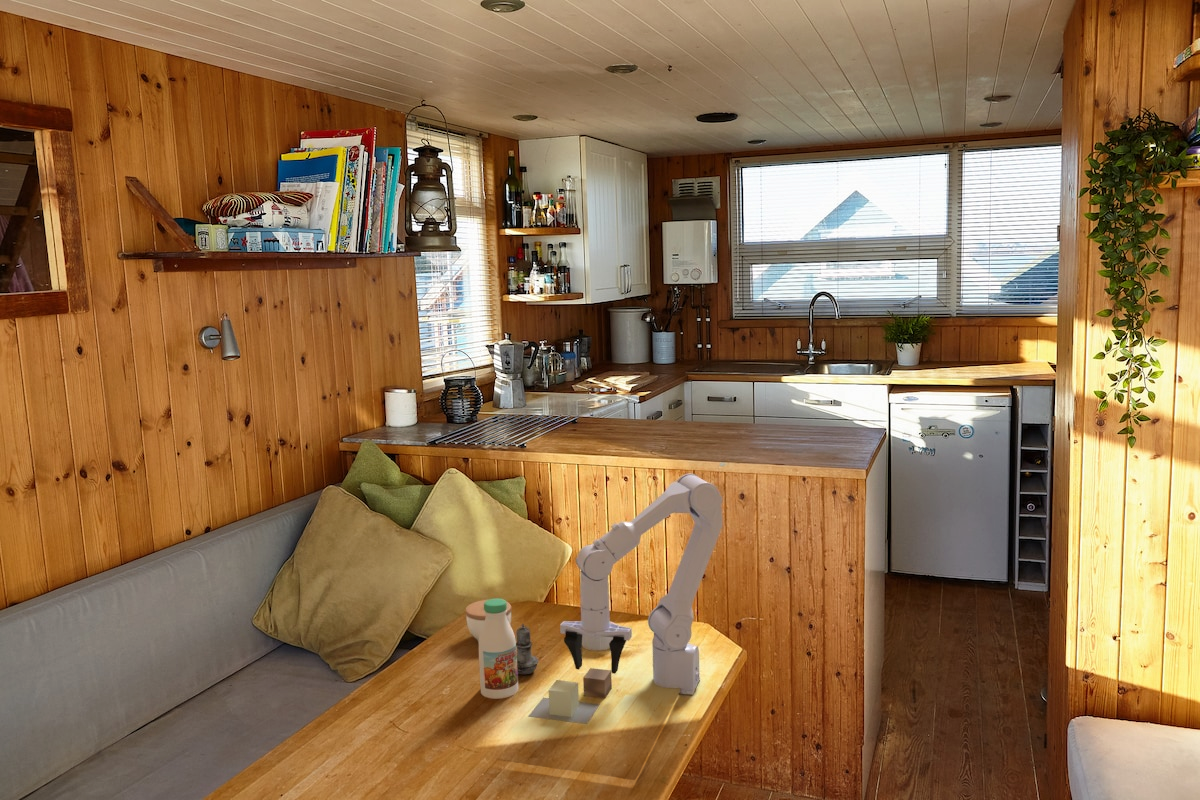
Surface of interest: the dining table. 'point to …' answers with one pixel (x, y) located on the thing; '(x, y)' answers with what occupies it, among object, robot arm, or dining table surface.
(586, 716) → the plate
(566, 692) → the sage block
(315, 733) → the dining table surface
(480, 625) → the lidded jar
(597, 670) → the walnut block
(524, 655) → the grey chess piece
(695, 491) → the robot arm
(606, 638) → the ramekin
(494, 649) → the milk bottle
